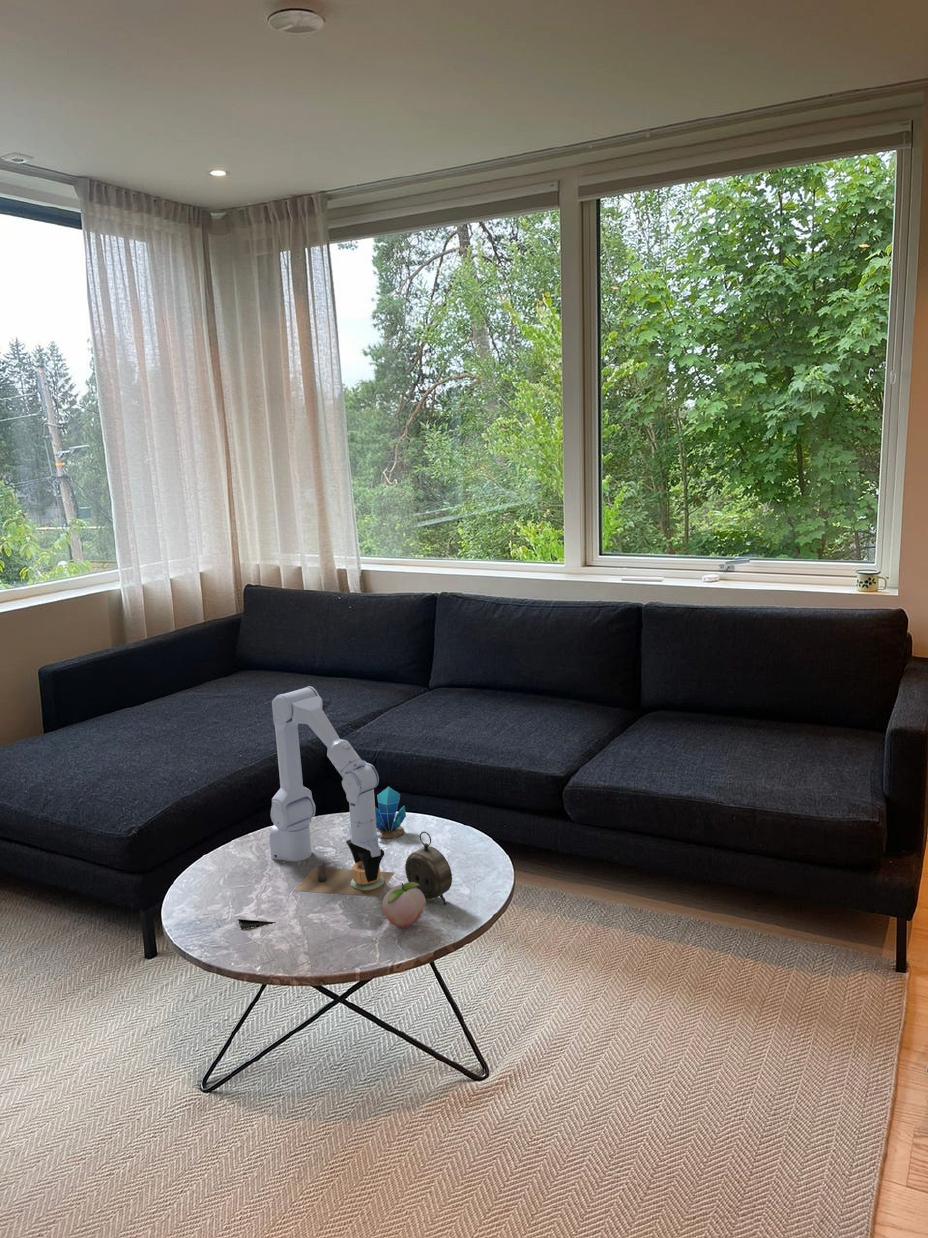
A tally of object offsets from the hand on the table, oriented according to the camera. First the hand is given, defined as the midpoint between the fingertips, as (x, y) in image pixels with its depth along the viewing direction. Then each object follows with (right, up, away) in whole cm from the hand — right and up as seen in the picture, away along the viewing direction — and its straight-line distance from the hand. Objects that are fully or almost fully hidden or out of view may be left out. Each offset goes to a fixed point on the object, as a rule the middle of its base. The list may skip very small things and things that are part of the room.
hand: (366, 874), depth 216 cm
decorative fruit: (+10, -6, -18) cm, 21 cm away
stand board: (-5, -3, +2) cm, 6 cm away
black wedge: (-24, -6, -8) cm, 26 cm away
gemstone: (+3, +2, +30) cm, 31 cm away
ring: (0, -1, 0) cm, 1 cm away
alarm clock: (+14, -4, -7) cm, 16 cm away
